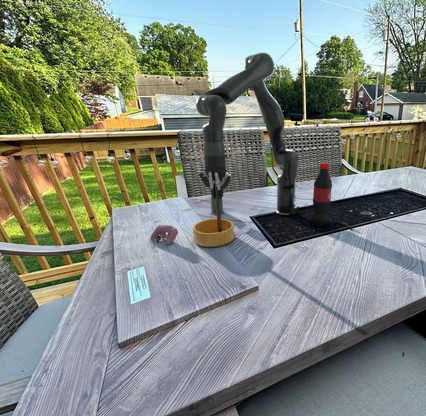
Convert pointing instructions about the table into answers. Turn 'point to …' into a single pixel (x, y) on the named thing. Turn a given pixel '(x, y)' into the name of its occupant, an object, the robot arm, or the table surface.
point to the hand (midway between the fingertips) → (217, 197)
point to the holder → (213, 205)
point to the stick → (218, 210)
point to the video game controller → (162, 232)
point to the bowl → (213, 233)
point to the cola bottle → (322, 197)
